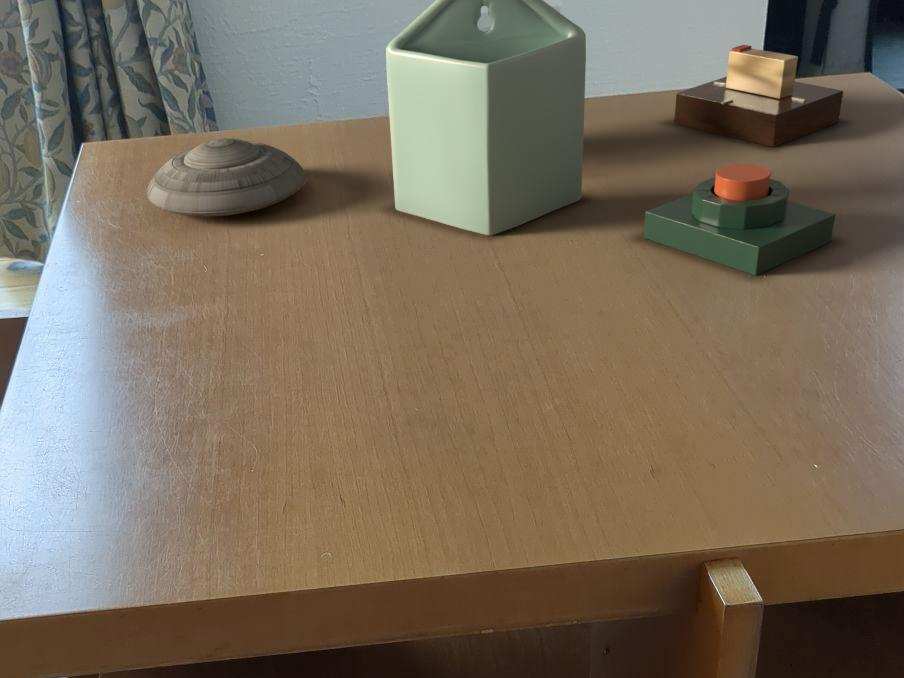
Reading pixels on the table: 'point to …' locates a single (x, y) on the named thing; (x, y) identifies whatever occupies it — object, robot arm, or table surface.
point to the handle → (761, 72)
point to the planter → (487, 113)
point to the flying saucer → (225, 179)
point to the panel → (758, 112)
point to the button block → (740, 227)
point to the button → (742, 182)
